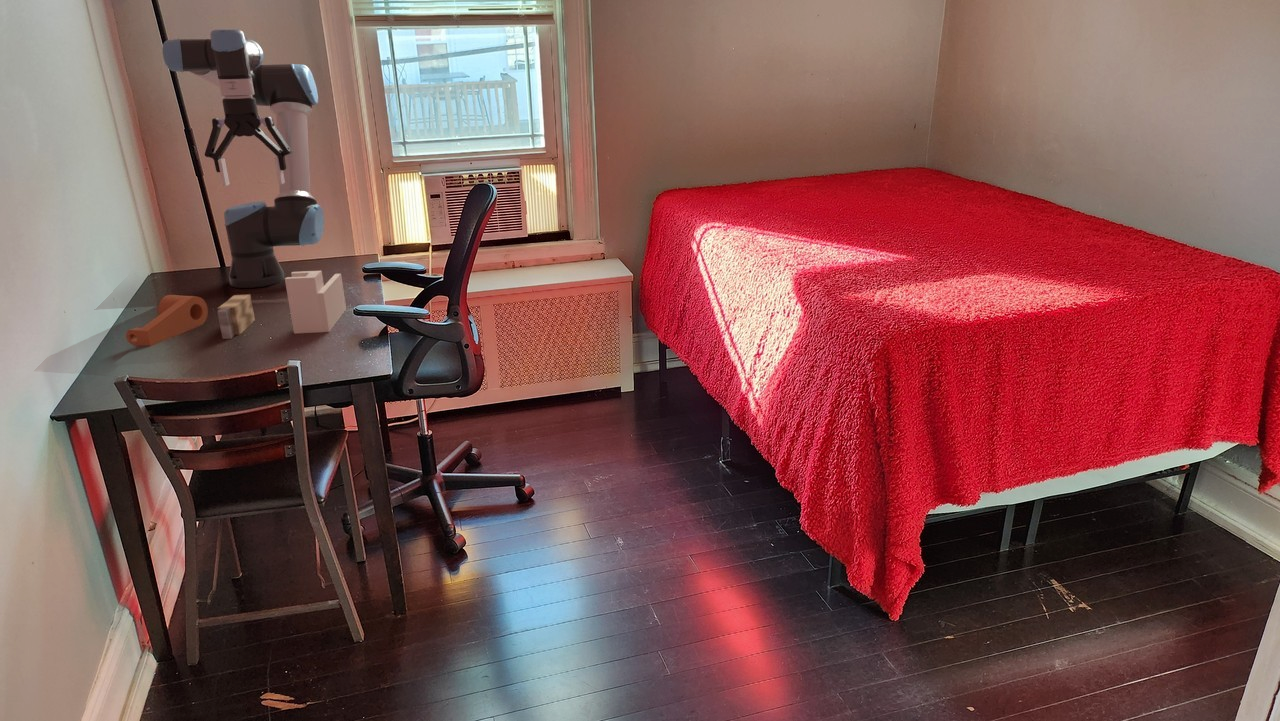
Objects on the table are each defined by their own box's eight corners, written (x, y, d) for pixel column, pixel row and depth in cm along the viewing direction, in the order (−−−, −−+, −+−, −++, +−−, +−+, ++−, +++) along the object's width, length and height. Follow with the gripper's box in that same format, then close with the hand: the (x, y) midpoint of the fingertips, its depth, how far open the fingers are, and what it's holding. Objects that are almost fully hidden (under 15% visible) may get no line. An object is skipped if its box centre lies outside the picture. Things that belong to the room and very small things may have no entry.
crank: (184, 320, 221) (178, 291, 218) (210, 322, 219) (204, 292, 216) (123, 344, 203) (116, 313, 200) (150, 346, 201) (143, 315, 198)
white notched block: (294, 333, 208) (284, 278, 203) (313, 311, 226) (305, 260, 221) (329, 331, 209) (320, 277, 204) (346, 309, 227) (338, 258, 222)
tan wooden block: (239, 320, 219) (234, 295, 216) (255, 320, 219) (250, 294, 217) (218, 339, 205) (212, 311, 202) (235, 338, 205) (230, 311, 203)
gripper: (179, 99, 200) (197, 188, 208) (286, 96, 203) (300, 185, 210) (191, 97, 207) (208, 183, 215) (295, 94, 210) (308, 180, 217)
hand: (254, 184), depth 213 cm, fingers open, 13 cm apart
